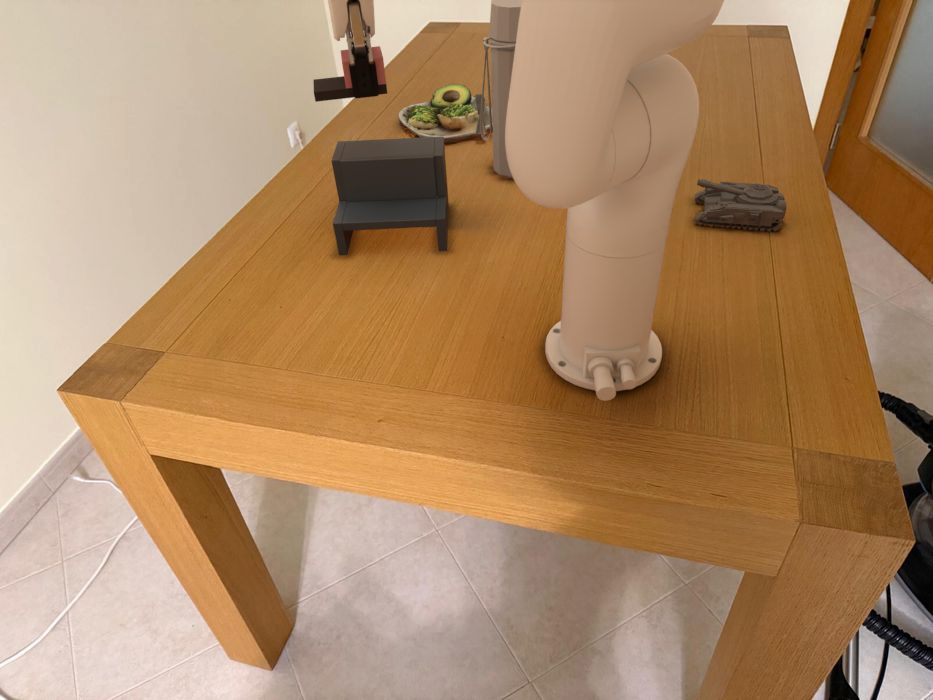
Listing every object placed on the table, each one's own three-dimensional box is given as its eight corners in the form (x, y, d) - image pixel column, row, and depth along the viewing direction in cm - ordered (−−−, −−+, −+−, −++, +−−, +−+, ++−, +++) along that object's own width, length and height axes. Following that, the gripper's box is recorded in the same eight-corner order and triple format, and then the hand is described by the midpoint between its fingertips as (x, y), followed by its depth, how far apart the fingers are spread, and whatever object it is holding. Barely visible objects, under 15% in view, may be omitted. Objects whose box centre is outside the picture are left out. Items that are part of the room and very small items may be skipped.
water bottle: (542, 161, 111) (546, -7, 95) (532, 184, 106) (535, 9, 89) (487, 157, 113) (482, -8, 97) (475, 179, 108) (468, 8, 91)
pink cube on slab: (315, 101, 85) (308, 65, 82) (315, 88, 88) (308, 53, 85) (387, 93, 85) (383, 57, 83) (384, 81, 89) (380, 46, 86)
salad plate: (524, 133, 120) (524, 107, 117) (431, 157, 114) (429, 131, 111) (474, 98, 133) (473, 74, 130) (389, 118, 127) (386, 93, 124)
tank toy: (691, 229, 94) (698, 195, 90) (691, 196, 100) (697, 163, 97) (785, 237, 91) (795, 202, 88) (778, 202, 98) (787, 168, 95)
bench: (447, 251, 92) (441, 176, 85) (339, 255, 93) (324, 181, 86) (448, 206, 101) (443, 136, 94) (350, 211, 102) (337, 141, 95)
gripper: (307, -88, 81) (334, 70, 93) (306, -60, 68) (337, 117, 80) (370, -93, 82) (389, 64, 94) (381, -67, 69) (401, 110, 81)
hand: (365, 87), depth 87 cm, fingers closed on pink cube on slab, 4 cm apart
